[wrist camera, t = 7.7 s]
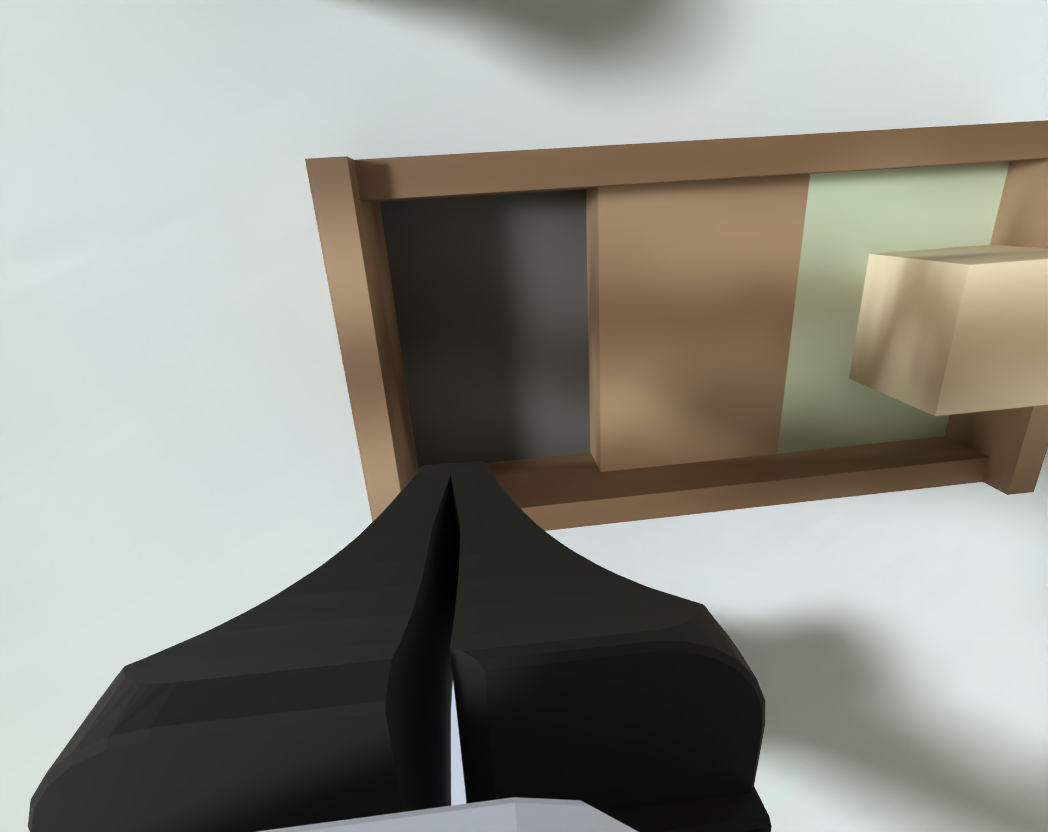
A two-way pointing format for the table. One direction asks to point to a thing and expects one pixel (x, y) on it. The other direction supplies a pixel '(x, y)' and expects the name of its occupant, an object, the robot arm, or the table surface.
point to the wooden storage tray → (663, 316)
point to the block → (955, 328)
